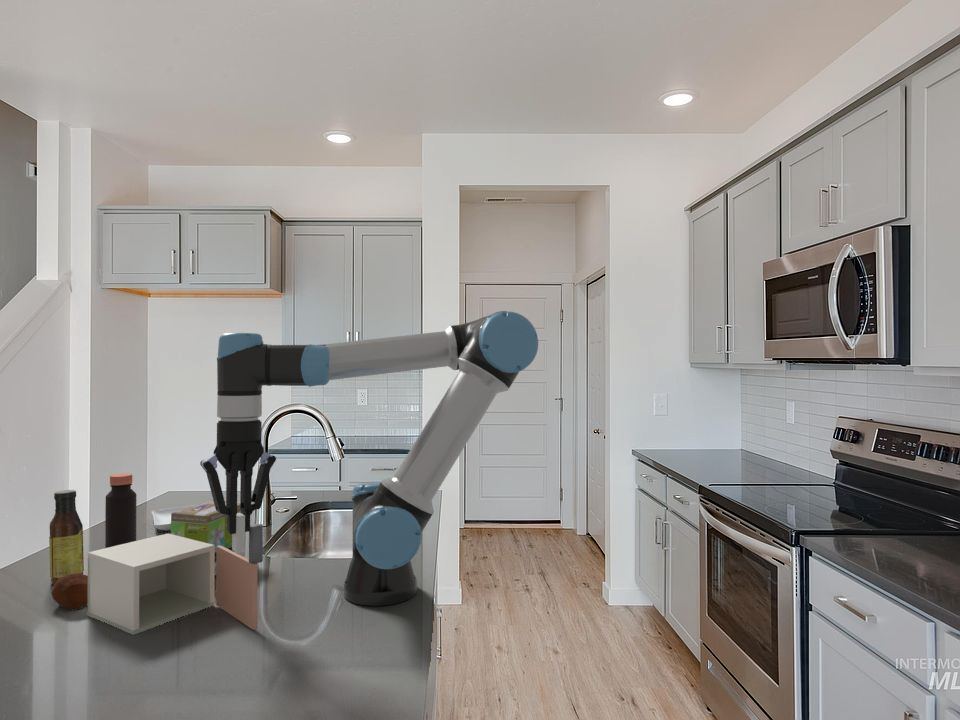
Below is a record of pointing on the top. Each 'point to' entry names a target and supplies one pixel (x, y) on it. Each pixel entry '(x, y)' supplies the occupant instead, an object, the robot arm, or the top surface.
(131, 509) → the vinegar
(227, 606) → the side door
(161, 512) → the salad plate
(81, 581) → the potato
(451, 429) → the robot arm
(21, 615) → the top surface
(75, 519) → the sauce bottle
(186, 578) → the case
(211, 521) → the tea box
